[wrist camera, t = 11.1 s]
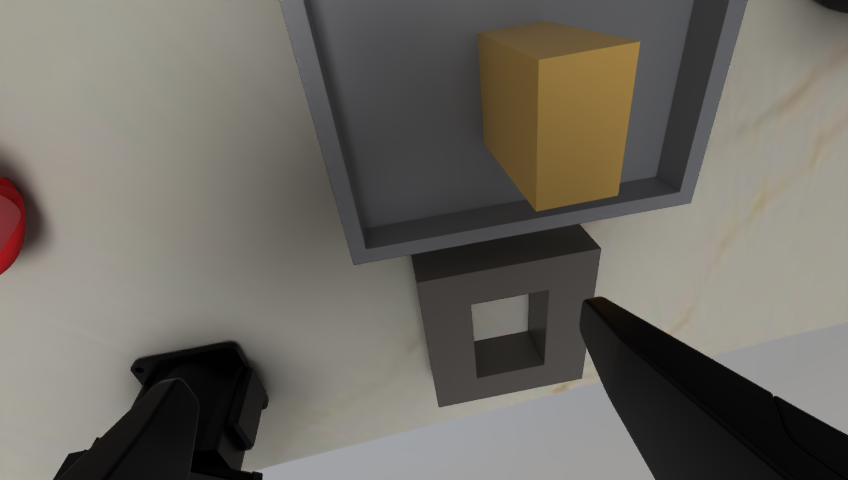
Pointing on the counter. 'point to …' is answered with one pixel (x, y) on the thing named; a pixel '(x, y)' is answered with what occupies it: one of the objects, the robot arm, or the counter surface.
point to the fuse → (557, 109)
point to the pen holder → (836, 5)
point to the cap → (10, 223)
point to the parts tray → (462, 112)
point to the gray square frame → (496, 279)
